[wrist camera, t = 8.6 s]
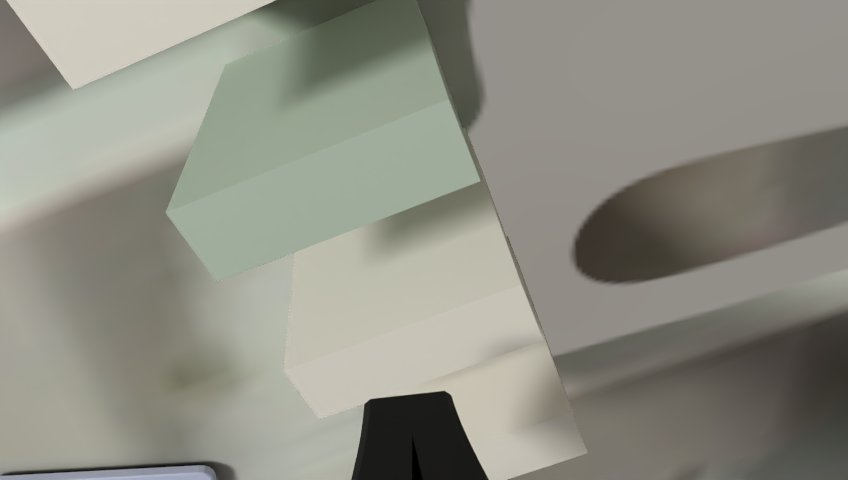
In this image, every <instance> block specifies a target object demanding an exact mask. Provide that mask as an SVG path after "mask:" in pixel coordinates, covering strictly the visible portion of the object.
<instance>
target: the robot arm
mask: <svg viewBox="0 0 848 480" xmlns="http://www.w3.org/2000/svg"><path fill="white" fill-rule="evenodd" d="M0 480H217V479H216V474H215V472H214V470H213V469H211V468H210V467H208V466H205V465H193V466H175V467H156V468H138V469H119V470H100V471H82V472H63V473H45V474H26V475H7V476H0ZM351 480H489V479H488V477H487V475H486V473H485V471H484V470H483V468H482V466H481V464H480V462H479V460H478V458H477V456H476V454H475V452H474V450H473V448H472V446H471V444H470V442H469V439H468V437H467V435H466V433H465V431H464V428H463V426H462V424H461V421H460V419H459V416H458V413H457V411H456V408H455V405H454V402H453V399H452V396H451V395H450V394H449V393H447V392H446V391H438V392H429V393H420V394H411V395H402V396H393V397H384V398H375V399H370V400H369V401H368V402H366V403H365V404H364V413H363V424H362V431H361V438H360V443H359V448H358V453H357V458H356V462H355V467H354V471H353V475H352V479H351Z"/></svg>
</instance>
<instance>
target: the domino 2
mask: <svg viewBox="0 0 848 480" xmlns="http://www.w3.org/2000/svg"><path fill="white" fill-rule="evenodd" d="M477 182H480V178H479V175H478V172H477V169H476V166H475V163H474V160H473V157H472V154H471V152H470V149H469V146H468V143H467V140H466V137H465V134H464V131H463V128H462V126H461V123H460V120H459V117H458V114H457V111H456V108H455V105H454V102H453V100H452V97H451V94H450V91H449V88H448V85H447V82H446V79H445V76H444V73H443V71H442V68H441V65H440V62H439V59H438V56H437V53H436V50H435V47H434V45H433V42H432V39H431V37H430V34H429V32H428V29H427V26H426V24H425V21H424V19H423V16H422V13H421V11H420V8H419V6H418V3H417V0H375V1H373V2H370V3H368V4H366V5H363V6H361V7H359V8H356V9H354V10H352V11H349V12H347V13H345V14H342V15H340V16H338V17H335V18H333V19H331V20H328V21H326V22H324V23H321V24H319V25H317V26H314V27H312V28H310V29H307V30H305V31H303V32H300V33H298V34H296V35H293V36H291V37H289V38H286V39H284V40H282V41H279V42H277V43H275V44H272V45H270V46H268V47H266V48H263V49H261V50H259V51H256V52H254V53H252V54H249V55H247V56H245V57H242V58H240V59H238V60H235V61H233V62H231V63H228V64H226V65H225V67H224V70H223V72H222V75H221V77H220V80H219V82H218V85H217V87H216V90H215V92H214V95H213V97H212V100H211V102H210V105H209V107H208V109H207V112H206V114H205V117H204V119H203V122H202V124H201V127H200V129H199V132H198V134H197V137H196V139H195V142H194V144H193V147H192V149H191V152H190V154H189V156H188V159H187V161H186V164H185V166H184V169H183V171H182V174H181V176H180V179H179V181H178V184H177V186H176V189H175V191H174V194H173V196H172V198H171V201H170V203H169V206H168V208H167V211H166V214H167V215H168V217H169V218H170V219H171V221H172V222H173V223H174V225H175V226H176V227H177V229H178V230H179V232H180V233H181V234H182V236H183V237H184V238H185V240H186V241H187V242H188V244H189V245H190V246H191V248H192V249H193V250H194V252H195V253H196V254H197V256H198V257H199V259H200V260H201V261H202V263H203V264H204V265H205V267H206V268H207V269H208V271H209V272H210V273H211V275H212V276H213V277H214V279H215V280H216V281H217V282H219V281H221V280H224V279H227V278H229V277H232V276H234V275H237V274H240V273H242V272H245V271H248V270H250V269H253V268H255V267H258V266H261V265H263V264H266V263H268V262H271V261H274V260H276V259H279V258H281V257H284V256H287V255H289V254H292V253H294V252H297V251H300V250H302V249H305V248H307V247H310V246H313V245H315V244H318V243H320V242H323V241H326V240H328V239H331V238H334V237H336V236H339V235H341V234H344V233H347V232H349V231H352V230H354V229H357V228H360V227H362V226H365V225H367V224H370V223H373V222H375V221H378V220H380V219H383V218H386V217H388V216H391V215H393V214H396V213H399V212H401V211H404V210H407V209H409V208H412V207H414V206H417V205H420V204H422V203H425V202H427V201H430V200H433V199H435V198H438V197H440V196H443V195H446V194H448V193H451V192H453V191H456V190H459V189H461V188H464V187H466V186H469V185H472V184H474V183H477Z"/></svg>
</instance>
